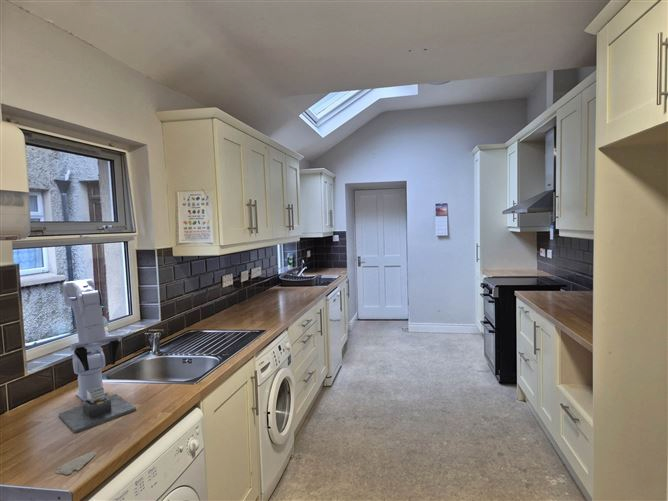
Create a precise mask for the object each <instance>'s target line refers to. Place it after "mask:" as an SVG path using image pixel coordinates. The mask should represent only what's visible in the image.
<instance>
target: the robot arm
mask: <svg viewBox="0 0 668 501" xmlns="http://www.w3.org/2000/svg"><path fill="white" fill-rule="evenodd" d="M61 286H62V293H63V294H62V295H63V299H64V302H65V305H66V306H69V307H71V309H72V312H73V313H74V319H75V326H76V332H77V339H78V342H76V343H71V344H70V345H69V348H70V351H71V352H72V351H73V353H72V356H71V357H72V367H73V372H74V374H75V375H78V376H77V383H78V384H77V386H78V392H76V393H75V394H76V396H77V397H78V398H79V399H81V400H82V401H85V400H88V399H87V390H86V389H90V388H93V387H96V386H99V385H100V386H101V387H103V388H104V384H103V383H104V382H103V374H102V371H103V369H104V368H105V366H106V357H105V353H104V350H103V348H102V347H101V345H105V344H107V345H106V347H107V350H108V354H109V363H110V365H111V366H112V365H115V364H116V356H117V351H118V349H119V345H120V341H122V336H121V334H116V335H112V336H106V329H105V323H104V316H103V310H102V309H103V308H102V306H103V296H102V295H103V294H102V292H101V290H100V289H96V290H95V282H94V279H92V278H88V279H81V280H80V279H79V280H71V281H63V282H62V285H61ZM106 394H108V392H107V390H105V389H104V395H106Z"/></svg>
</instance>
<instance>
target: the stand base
mask: <svg viewBox="0 0 668 501" xmlns="http://www.w3.org/2000/svg"><path fill="white" fill-rule="evenodd" d="M104 396H105V400H104V401H99V402H96V403H95V404H92V405H89V404H88V400H85V401H83V400H82V401H81V403H82V405H80V406H76V407H73V408H70V409H68V410H67V409H66V410H65V411H62V412H58V417H59V418H60V419H61V420H62V421H63V423H64V424H66V425H67V427H68V428H69V429H70V430H71V431H72V432H73V433H74V434H77V433H79V432H81V431H85V430H87V429H90V428H92V427H93V428H94V427H96V426H98V425H101V424H103V423H106V422H108V421H112V420H114V419H116V418H119V417H121V416H125V415H128V414H131V413H132V412H135V411H137V407H136V406H134V405H133V404H132V403H130V402H128V400H126V399H124V398H123V397H121V396H120V395H118V394H112V395H109V396H107V395H106V394H104Z"/></svg>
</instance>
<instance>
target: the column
mask: <svg viewBox="0 0 668 501" xmlns="http://www.w3.org/2000/svg"><path fill="white" fill-rule="evenodd" d="M86 390H87V399H88V404H89V405H92V404H95V403H96V402H99V401H104V400H105V396H106V395H105V394H104V390H105V389H104V386H103V387H101V386H100V385H99V386H96V387H93V388H90V389H86ZM104 395H105V396H104Z"/></svg>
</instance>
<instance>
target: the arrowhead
mask: <svg viewBox="0 0 668 501" xmlns="http://www.w3.org/2000/svg"><path fill="white" fill-rule="evenodd" d="M96 455H97V452H96V451H90V452H89V453H86V454H83V455H80V456H78V457H75V458H74V459H72V460H70V461H68V462H65V463H64V464H62V465H61V466H59V467H57V468H56V470H55V472H54V474H56V475H61V474H62V475H65V476H69V475H71V474H72V473H73V472H75V471H79V470H82V468H84V466H85V465H86V464H87V463H88V462H90V461H91V460H92V459H93V458H94V457H95V456H96Z"/></svg>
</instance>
